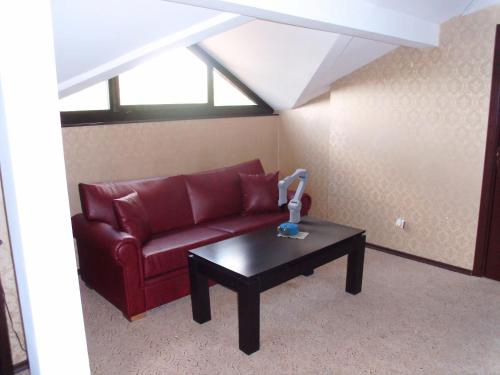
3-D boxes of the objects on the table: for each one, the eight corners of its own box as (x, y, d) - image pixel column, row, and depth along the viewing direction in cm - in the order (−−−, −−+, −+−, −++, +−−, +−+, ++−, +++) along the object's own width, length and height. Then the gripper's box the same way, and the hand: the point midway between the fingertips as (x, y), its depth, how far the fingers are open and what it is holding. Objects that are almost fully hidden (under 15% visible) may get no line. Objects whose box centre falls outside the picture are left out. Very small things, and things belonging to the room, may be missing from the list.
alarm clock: (289, 229, 314) (274, 233, 304) (289, 221, 312) (274, 225, 303) (301, 233, 304) (287, 237, 294) (301, 225, 302) (287, 229, 293)
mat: (283, 230, 312) (283, 230, 312) (309, 233, 304) (309, 233, 303) (277, 236, 299) (277, 235, 299) (303, 239, 291) (303, 238, 291)
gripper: (281, 193, 328) (281, 210, 330) (274, 197, 315) (274, 214, 318) (289, 194, 325) (289, 211, 328) (283, 198, 312) (283, 215, 315)
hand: (282, 212), depth 322 cm, fingers closed
